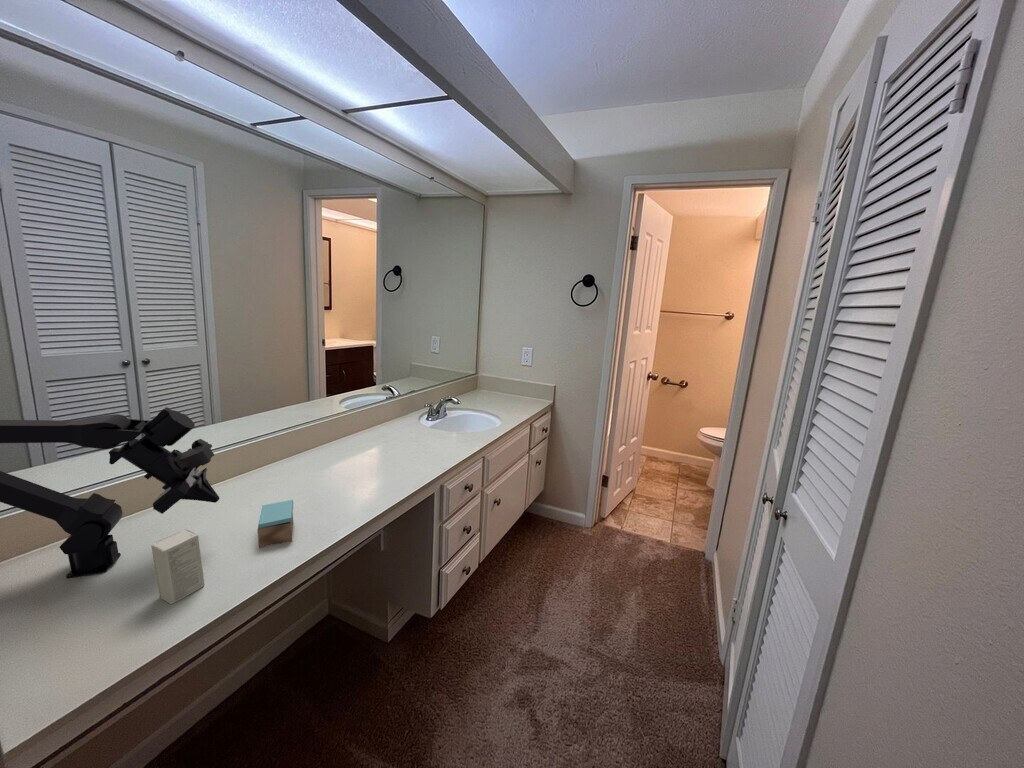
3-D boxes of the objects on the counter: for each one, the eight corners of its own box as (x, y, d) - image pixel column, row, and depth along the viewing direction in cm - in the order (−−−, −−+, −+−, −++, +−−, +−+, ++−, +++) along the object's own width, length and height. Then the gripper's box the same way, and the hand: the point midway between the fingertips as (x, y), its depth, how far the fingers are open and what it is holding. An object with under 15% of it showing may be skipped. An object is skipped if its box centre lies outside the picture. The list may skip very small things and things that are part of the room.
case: (259, 547, 98) (257, 528, 97) (262, 527, 106) (261, 510, 104) (291, 541, 101) (290, 523, 100) (293, 522, 109) (292, 505, 108)
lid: (258, 528, 97) (258, 524, 96) (262, 509, 105) (262, 505, 104) (291, 521, 99) (291, 517, 99) (293, 503, 108) (292, 499, 107)
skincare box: (192, 579, 86) (186, 527, 84) (205, 586, 84) (199, 534, 82) (157, 598, 81) (149, 543, 78) (170, 606, 79) (162, 550, 76)
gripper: (167, 455, 81) (234, 500, 88) (199, 419, 97) (254, 459, 104) (121, 492, 80) (192, 534, 87) (162, 449, 97) (219, 487, 104)
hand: (217, 500), depth 96 cm, fingers closed
